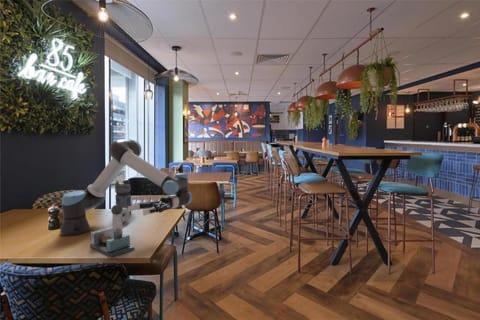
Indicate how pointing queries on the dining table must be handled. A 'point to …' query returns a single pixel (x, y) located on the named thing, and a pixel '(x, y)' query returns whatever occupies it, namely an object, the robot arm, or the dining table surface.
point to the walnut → (106, 238)
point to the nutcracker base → (102, 247)
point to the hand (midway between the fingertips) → (135, 210)
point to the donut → (125, 215)
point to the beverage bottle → (123, 194)
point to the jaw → (117, 231)
